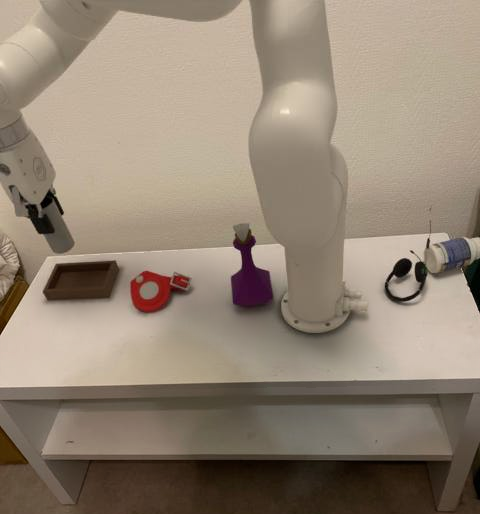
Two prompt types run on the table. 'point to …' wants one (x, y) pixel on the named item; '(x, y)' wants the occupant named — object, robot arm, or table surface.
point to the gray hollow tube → (56, 227)
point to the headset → (403, 269)
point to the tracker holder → (155, 289)
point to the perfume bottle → (249, 273)
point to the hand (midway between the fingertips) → (51, 223)
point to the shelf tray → (81, 280)
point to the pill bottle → (452, 254)
